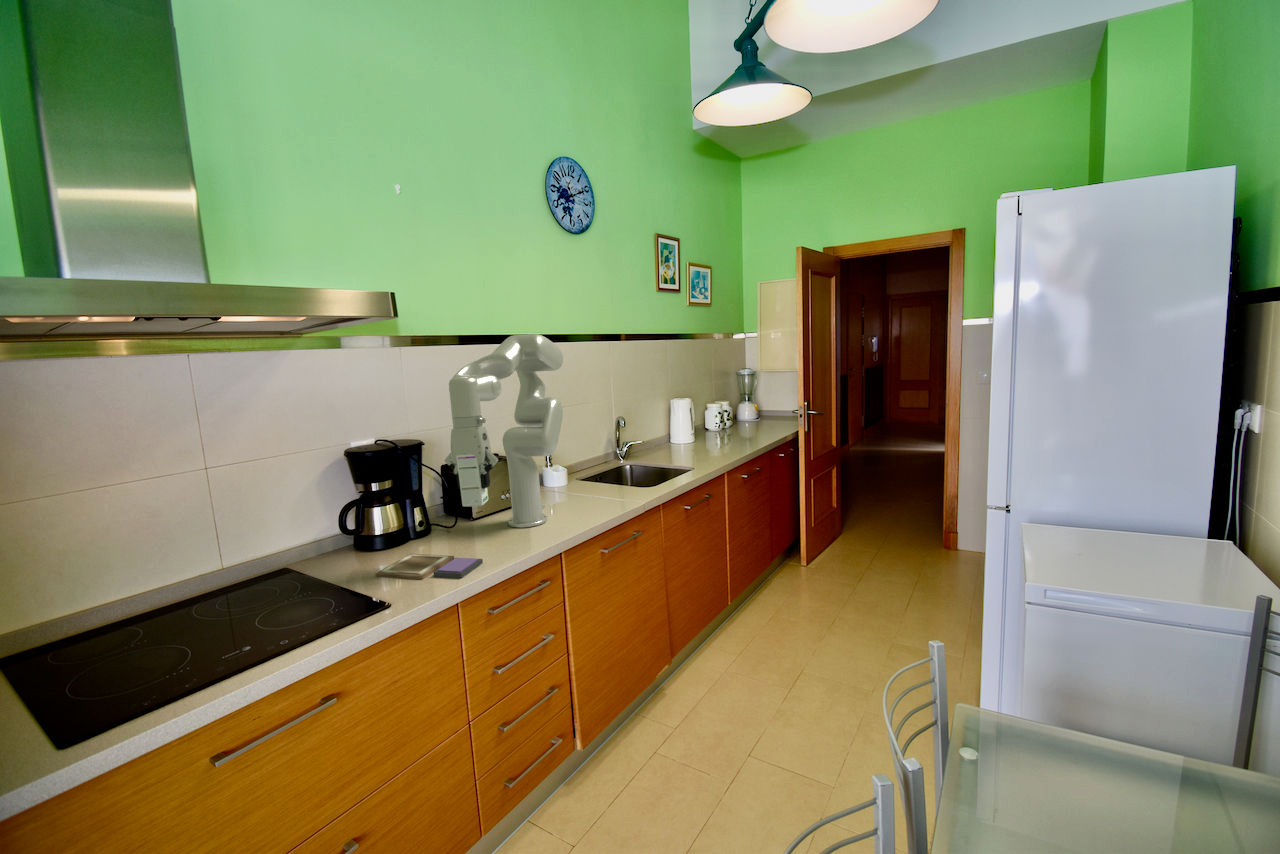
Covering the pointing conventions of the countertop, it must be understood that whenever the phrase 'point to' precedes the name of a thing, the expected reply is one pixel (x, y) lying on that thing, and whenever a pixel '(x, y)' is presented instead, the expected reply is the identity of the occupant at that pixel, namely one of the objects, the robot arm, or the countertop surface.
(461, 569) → the ink pad
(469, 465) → the syrup box
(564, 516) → the countertop surface
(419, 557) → the board
